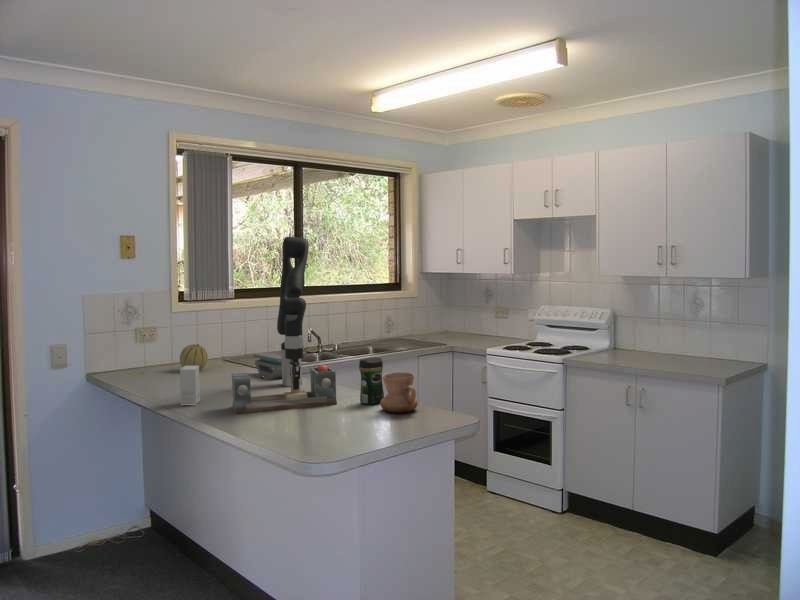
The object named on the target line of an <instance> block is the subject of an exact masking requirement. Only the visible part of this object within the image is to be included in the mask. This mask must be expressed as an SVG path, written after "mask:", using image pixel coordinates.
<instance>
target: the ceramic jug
mask: <svg viewBox="0 0 800 600" xmlns="http://www.w3.org/2000/svg"><path fill="white" fill-rule="evenodd" d="M414 379H415V374H414V373H413V372H409V371H407V372H406V371H394V372H393V371H392V372H387V373H384V374H382V382H383V384H384V385H385V389H386V392H387V395H384V398H383V399H382V400H381V402H380V403H379V405H380V407H381V408H382V409H383V410H384V411H386V412H388V413H394V414H399V413H400V414H401V413H402V414H404V413H408V412H411V411H413V410H415V409H416V408H417V407H418V404H419V401H418V399H417V391H416V387H415V386H413V384H414Z"/></svg>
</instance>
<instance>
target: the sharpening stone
mask: <svg viewBox="0 0 800 600" xmlns="http://www.w3.org/2000/svg"><path fill="white" fill-rule="evenodd" d="M253 358H256V359H257V358H258V359H257V360H254V365H255V367H256V369H257V372H258V374H259V376H260V375H261V376H264V377H263V378H265V377H267V379H269V378H270V380H276V378H277V379H282V357H281V354H278V353H273V352H268V351H267V352H261V353H254V354H253ZM261 376H260V377H261Z"/></svg>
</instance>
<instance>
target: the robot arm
mask: <svg viewBox="0 0 800 600" xmlns="http://www.w3.org/2000/svg"><path fill="white" fill-rule="evenodd" d="M309 247H310V246H309V240H308V239H307V238H304V237H297V236H285V237H284V239H283V241H282V255H281V256H282V260H281V262H282V266H281V267H282V268H281V277H280V278H281V279H280V286H279V287H280V289H279V291H280V292H279V295H280V296H279V306H278V307H279V308H278V313H277V314H278V315H277V321H276V323H277V324H276V326H277V327H276V329H277V333H278V335H281V336H285V337H284V341H283V342H282V343H281V344H280V349H281V350H280V351H281V352H280V353H281V354H280V355H281V357H282V378H281V379H282V380H281V382H282V383H281V384H282V386H283V387H291V375H293V389H294V390H297V389H299V382H300V386H302V385H303V372H302V371H303V370H302V369H303V367H302V359H304V356H305V355H304V354H305V353H304V352H305V351H304V350H305V349H304V337H303V321H304V316H305V313H306V309H307V302H306V300H305V299H304V298H303V297H301V296H302V295H303V290H304V289H303V288H304V276H305V271H306V268H307V261H308V258H309V257H308V255H309ZM291 259H297V260H298V259H299V260H298V262H297V263H296V264H295V266H294V267H293V264H292V262H291ZM295 375H297V377H295Z"/></svg>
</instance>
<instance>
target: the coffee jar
mask: <svg viewBox="0 0 800 600" xmlns="http://www.w3.org/2000/svg"><path fill="white" fill-rule="evenodd" d="M358 367H359V368H358V369H359V371H360V378H361V379H360V391H359V392H360V394H359V395H360V397H359V398H360V399H359V401H360V403H361V404H363V405H365V404H366V405H372V404H373V405H378V404H380V402H381V400H382V399H383V398H384V397H385V394H384V393H385V392H384V385H383V384H384V383H383V369H384V364H383V360H382V358H381V357H367V358H362V359H360V360H359V365H358Z"/></svg>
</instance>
